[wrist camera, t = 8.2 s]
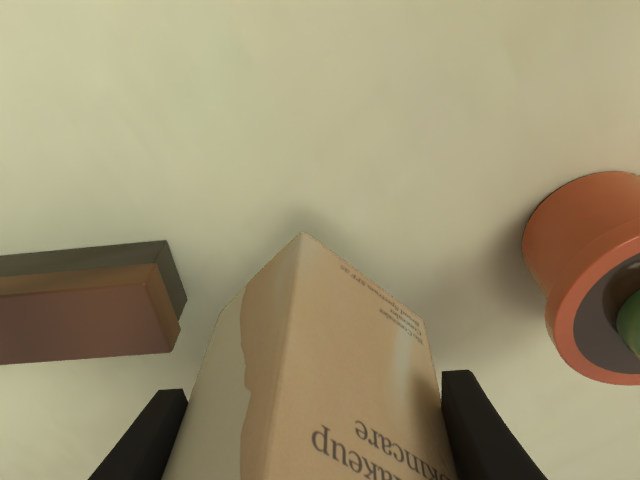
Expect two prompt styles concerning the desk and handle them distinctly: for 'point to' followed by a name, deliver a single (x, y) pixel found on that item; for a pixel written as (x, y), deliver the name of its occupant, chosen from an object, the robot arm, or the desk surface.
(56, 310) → the brown rectangular bar
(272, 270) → the box
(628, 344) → the succulent pot
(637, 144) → the desk surface
